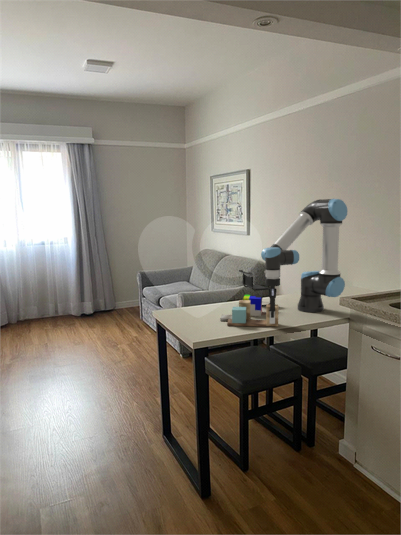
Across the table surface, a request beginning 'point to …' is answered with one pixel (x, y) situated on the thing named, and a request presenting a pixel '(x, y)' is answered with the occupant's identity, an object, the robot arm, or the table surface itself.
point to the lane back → (241, 304)
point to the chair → (249, 283)
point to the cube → (239, 315)
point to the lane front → (258, 322)
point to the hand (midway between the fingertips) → (272, 321)
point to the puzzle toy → (254, 304)
